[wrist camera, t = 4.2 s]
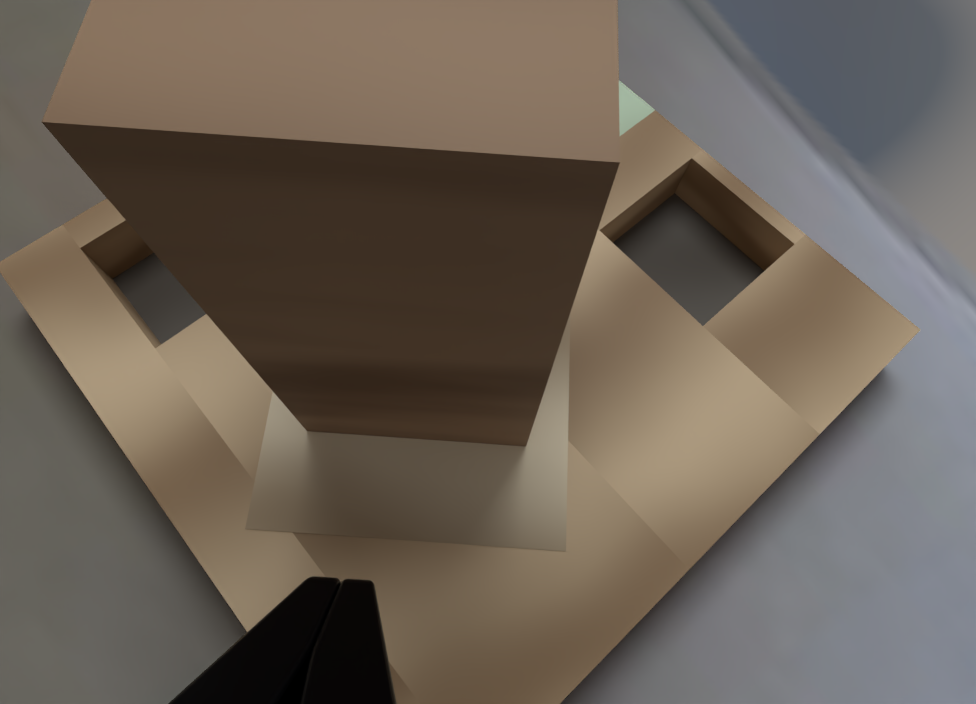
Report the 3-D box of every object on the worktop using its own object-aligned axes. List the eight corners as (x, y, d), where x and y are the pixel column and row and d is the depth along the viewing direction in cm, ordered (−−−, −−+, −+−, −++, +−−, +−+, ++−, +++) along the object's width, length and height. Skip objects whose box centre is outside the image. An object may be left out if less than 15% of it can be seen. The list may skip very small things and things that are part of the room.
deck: (878, 356, 20) (920, 329, 18) (413, 833, 15) (406, 863, 13) (486, 19, 25) (488, -29, 23) (38, 297, 20) (-6, 264, 18)
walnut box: (526, 446, 16) (619, 162, 6) (307, 431, 16) (41, 122, 6) (534, 240, 19) (613, -213, 8) (342, 227, 19) (192, -243, 8)
